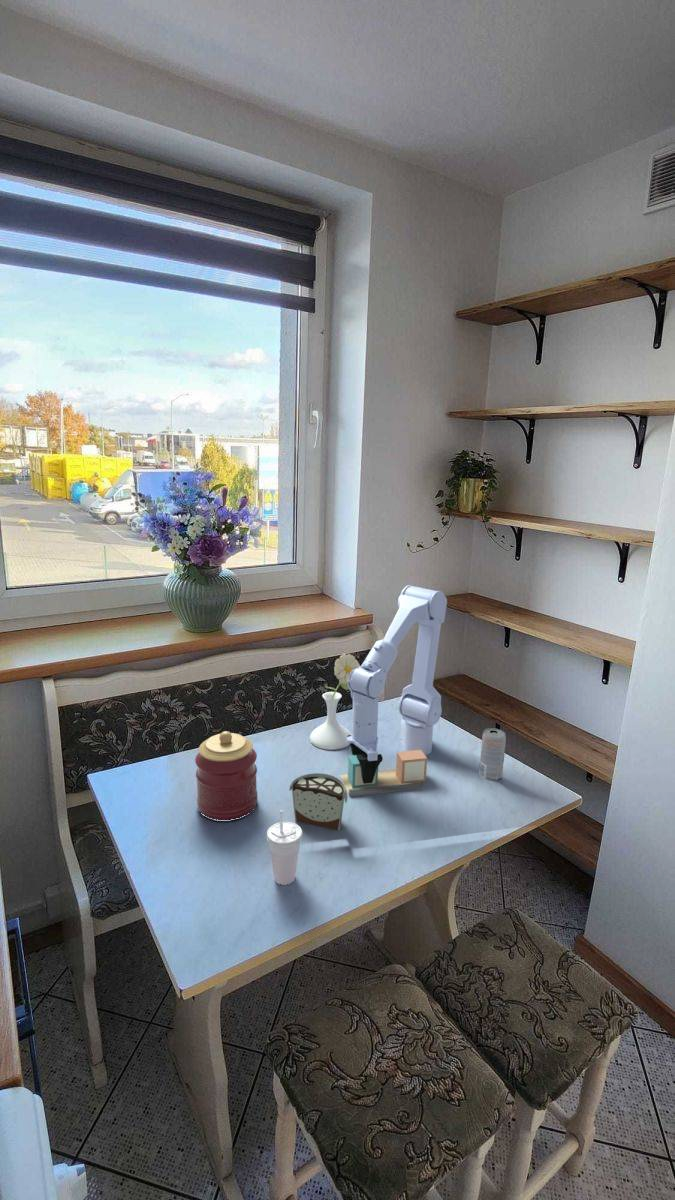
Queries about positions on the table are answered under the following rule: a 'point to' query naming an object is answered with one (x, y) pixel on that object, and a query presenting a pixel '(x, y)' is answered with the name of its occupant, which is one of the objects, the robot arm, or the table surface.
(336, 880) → the table surface
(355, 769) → the teal box
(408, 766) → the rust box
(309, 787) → the food container
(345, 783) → the board
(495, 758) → the energy drink
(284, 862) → the smoothie
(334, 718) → the flower in vase
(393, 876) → the table surface
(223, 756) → the canister
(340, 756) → the table surface
